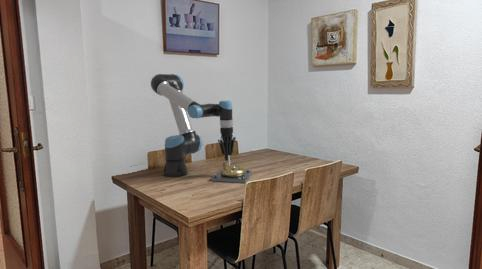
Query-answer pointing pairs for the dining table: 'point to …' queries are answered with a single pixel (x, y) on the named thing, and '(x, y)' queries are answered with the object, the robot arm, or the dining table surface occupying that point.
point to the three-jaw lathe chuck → (232, 170)
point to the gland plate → (239, 179)
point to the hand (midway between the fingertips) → (228, 165)
